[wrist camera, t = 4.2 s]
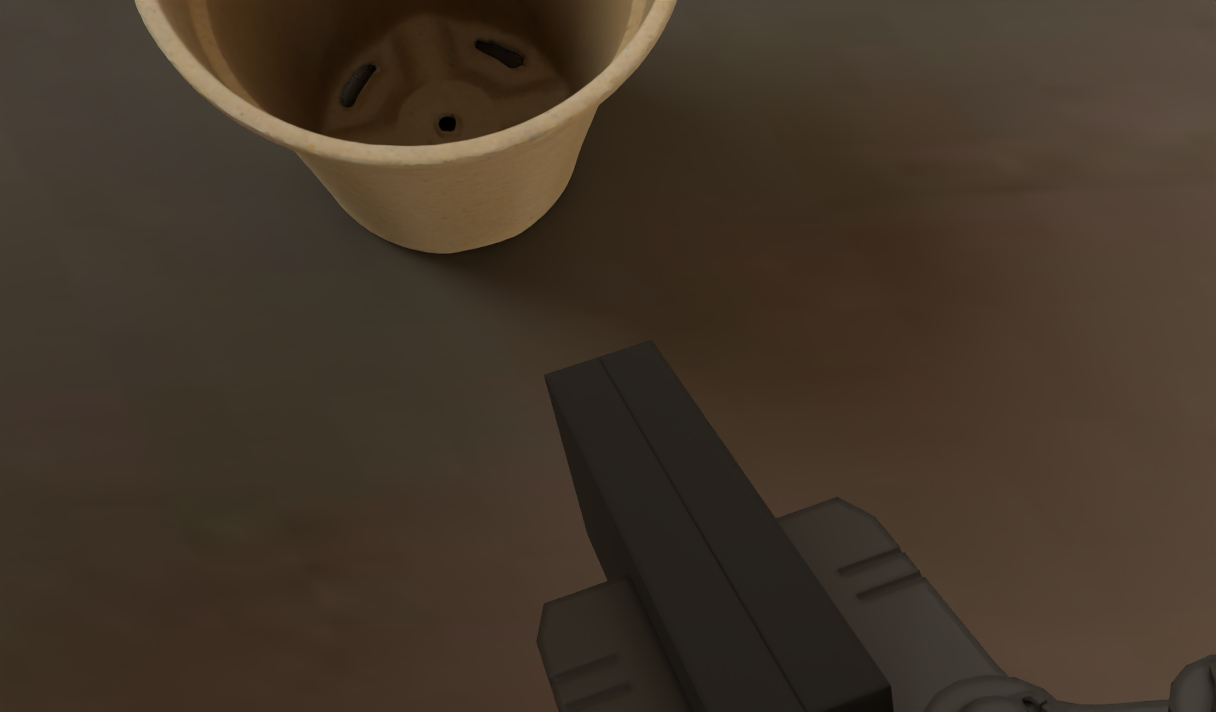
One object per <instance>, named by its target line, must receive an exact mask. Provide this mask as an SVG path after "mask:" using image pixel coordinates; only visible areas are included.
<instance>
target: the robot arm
mask: <svg viewBox="0 0 1216 712" xmlns="http://www.w3.org/2000/svg"><path fill="white" fill-rule="evenodd" d="M544 376H545V380H546V384H547V387H548V391H549V395H550V398H551V402H552V406H553V409H554V413H555V417H556V420H557V424H558V428H559V431H560V435H561V439H562V442H563V446H564V450H565V453H566V457H567V461H568V465H569V468H570V472H571V476H572V479H573V483H574V487H575V490H576V494H577V498H578V501H579V505H580V509H581V512H582V516H583V520H584V523H585V527H586V531H587V534H588V537H589V539H590V541H591V543H592V546H593V548H594V550H595V552H596V555H597V557H598V559H599V562H600V564H601V566H602V568H603V571H604V573H605V575H606V577H607V580H608V581H607V582H604V583H601V584H598V585H596V586H593V587H590V588H587V589H584V590H581V591H579V592H576V593H573V594H570V595H567V596H564V597H562V598H559V599H556V600H553V601H550V602H547V603H545V604H544V606H543V611H542V616H541V621H540V626H539V631H538V636H537V641H536V642H537V645H538V648H539V651H540V654H541V657H542V661H543V664H544V667H545V670H546V673H547V676H548V679H549V682H550V685H551V688H552V692H553V695H554V698H555V701H556V704H557V707H558V710H559V712H1216V654H1215V655H1209V656H1207V657H1205V658H1202V659H1200V660H1198V661H1195V662H1193V663H1191V664H1189V665H1186V666H1185V667H1184V669H1183V670H1182V671H1181V672H1180V673H1179V675H1178V676H1177V677H1176V678H1175V679H1174V681H1173V682H1172V683H1171V690H1170V699H1169V700H1157V701H1144V702H1132V703H1119V704H1107V705H1079V704H1073V703H1068V702H1063V701H1058V700H1056V699H1055V698H1054V697H1053V696H1052V695H1050V694H1049V693H1048V692H1047V691H1045V690H1044V689H1043V688H1041V687H1038V686H1035V685H1033V684H1030V683H1028V682H1025V681H1023V680H1020V679H1018V678H1015V677H1009V676H1008V675H1007V674H1006V673H1005V672H1004V671H1003V670H1002V669H1001V668H1000V667H999V666H998V665H997V664H996V663H995V662H994V661H993V659H992V658H991V657H990V656H989V655H988V653H987V652H986V651H985V650H984V648H983V647H982V646H981V645H980V644H979V642H978V641H977V640H976V639H975V638H974V636H973V635H972V634H971V633H970V631H969V630H968V629H967V628H966V627H965V625H964V624H963V623H962V622H961V621H960V619H959V618H958V617H957V616H956V614H955V613H954V612H953V611H952V610H951V608H950V607H949V606H948V605H947V604H946V602H945V601H944V600H943V599H942V597H941V596H940V595H939V594H938V593H937V591H936V590H935V589H934V588H933V587H932V585H931V584H930V583H929V582H928V580H927V579H926V578H925V577H924V578H922V576H921V574H920V571H919V570H918V568H917V567H916V566H915V565H914V563H913V562H912V561H911V560H910V559H909V557H908V556H907V555H906V554H905V553H902V552H901V550H900V547H899V545H898V544H897V543H896V542H895V540H894V539H893V538H892V537H891V536H890V534H889V533H888V532H887V531H886V530H885V528H884V527H883V526H882V525H881V523H880V522H879V521H878V520H877V519H876V517H874V516H872V515H870V514H868V513H867V512H865V511H863V510H861V509H859V508H857V507H855V506H853V505H851V504H850V503H848V502H846V501H844V500H842V499H840V498H838V497H836V498H833V499H830V500H827V501H825V502H822V503H819V504H816V505H813V506H810V507H808V508H805V509H802V510H799V511H796V512H794V513H791V514H788V515H785V516H782V517H779V518H777V519H775V517H774V516H773V514H772V513H771V511H770V510H769V509H768V507H767V506H766V504H765V503H764V501H763V500H762V498H761V497H760V496H759V494H758V493H757V491H756V490H755V488H754V487H753V485H752V484H751V483H750V481H749V480H748V478H747V477H746V475H745V474H744V472H743V471H742V470H741V468H740V467H739V465H738V464H737V462H736V461H735V459H734V458H733V457H732V455H731V454H730V452H729V451H728V449H727V448H726V446H725V445H724V444H723V442H722V441H721V439H720V438H719V436H718V435H717V433H716V432H715V431H714V429H713V428H712V426H711V425H710V423H709V422H708V420H707V419H706V418H705V416H704V415H703V413H702V412H701V410H700V409H699V407H698V406H697V405H696V403H695V402H694V400H693V399H692V397H691V396H690V394H689V393H688V392H687V390H686V389H685V387H684V386H683V384H682V383H681V381H680V380H679V379H678V377H677V376H676V374H675V373H674V371H673V370H672V369H671V367H670V366H669V364H668V363H667V361H666V360H665V358H664V357H663V356H662V354H661V353H660V351H659V350H658V348H657V347H656V345H655V344H654V343H653V341H652V340H651V341H647V342H644V343H641V344H638V345H635V346H632V347H629V348H626V349H623V350H620V351H617V352H614V353H611V354H607V355H604V356H601V357H598V358H595V359H592V360H589V361H586V362H583V363H580V364H577V365H574V366H570V367H567V368H564V369H561V370H558V371H555V372H552V373H549V374H546V375H544Z"/></svg>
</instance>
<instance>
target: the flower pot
mask: <svg viewBox="0 0 1216 712" xmlns="http://www.w3.org/2000/svg"><path fill="white" fill-rule="evenodd" d="M134 1H135V3H136V6H137V8H138V11H139V13H140V15H141V17H142V19H143V22H144V24H145V25H146V27H147V29H148V30H149V32H150V34H151V35H152V37H153V38H154V40H155V41H156V43H157V45H158V46H159V48H160V49H161V50H162V52H163V53H164V54H165V55H166V57H167V58H168V59H169V61H170V62H171V63H172V64H173V65H174V67H175V68H176V69H177V70H178V71H179V73H180V74H181V75H182V76H183V77H184V79H185V80H186V81H187V82H188V83H189V84H190V85H191V86H192V87H193V88H194V89H195V90H196V91H197V92H198V93H199V94H200V95H202V96H203V97H204V98H205V99H206V100H208V101H209V102H210V103H211V104H212V105H214V106H215V107H216V108H217V109H219V110H220V111H221V112H222V113H224V114H225V115H226V116H228V117H229V118H231V119H232V120H234V121H235V122H237V123H238V124H240V125H242V126H243V127H245V128H247V129H249V130H250V131H252V132H254V133H255V134H257V135H259V136H261V137H263V138H265V139H267V140H269V141H271V142H274V143H276V144H278V145H281V146H283V147H286V148H288V149H291V150H294V152H295V153H296V154H297V155H298V156H299V157H300V158H301V159H302V161H303V162H304V163H305V164H306V165H307V166H308V167H309V169H310V170H311V171H312V172H313V173H314V174H315V175H316V177H317V178H318V179H319V180H320V181H321V182H322V184H323V185H324V186H325V187H326V188H327V189H328V191H329V192H330V193H331V194H332V196H333V197H334V198H335V199H336V201H337V202H338V203H339V204H340V206H341V207H342V208H343V209H344V210H345V211H346V212H347V213H348V214H349V215H350V216H351V217H352V218H353V219H355V220H356V221H357V222H358V223H359V224H360V225H362V226H363V227H365V228H366V229H368V230H369V231H370V232H372V233H374V234H376V235H377V236H379V237H381V238H383V239H385V240H387V241H389V242H392V243H395V244H397V245H400V246H403V247H406V248H410V249H414V250H419V251H424V252H429V253H455V252H460V251H465V250H470V249H475V248H479V247H483V246H487V245H490V244H494V243H498V242H501V241H504V240H506V239H509V238H512V237H514V236H516V235H518V234H520V233H521V232H523V231H524V230H526V229H527V228H529V227H530V226H531V225H533V224H534V223H535V222H536V221H537V220H539V219H540V218H541V217H542V216H543V215H544V214H545V213H546V212H547V211H548V210H549V209H550V208H551V207H552V206H553V204H554V203H555V202H556V201H557V199H558V198H559V197H560V196H561V194H562V192H563V191H564V189H565V188H566V186H567V184H568V182H569V180H570V178H571V175H572V173H573V170H574V167H575V164H576V161H577V157H578V154H579V152H580V149H581V146H582V144H583V141H584V139H585V136H586V134H587V132H588V129H589V127H590V125H591V122H592V120H593V117H594V115H595V113H596V110H597V108H598V106H599V104H601V103H602V102H603V101H604V100H606V99H607V98H608V97H609V96H610V95H612V94H613V93H614V92H615V91H616V90H617V89H618V88H619V87H620V86H621V85H622V84H623V83H624V82H625V81H626V80H627V79H628V78H629V76H630V75H631V74H632V73H633V72H634V71H635V70H636V69H637V68H638V67H639V66H640V64H641V63H642V62H643V60H644V59H645V58H646V56H647V55H648V54H649V52H650V51H651V49H652V48H653V46H654V45H655V44H656V42H657V40H658V39H659V37H660V35H661V34H662V32H663V30H664V28H665V26H666V24H667V22H668V20H669V18H670V16H671V15H672V12H673V9H674V7H675V4H676V1H677V0H134ZM477 41H481V42H484V43H487V44H492V43H494V44H495V45H498V46H500V47H502V48H505V49H508V50H510V51H512V52H514V53H516V54H518V55H519V56H520V57H522V58H523V59H524V61H523V65H521V66H519V67H517V68H509V67H507V66H506V65H504V64H503V63H501V62H500V60H498V59H496V58H494V57H492V56H489V55H487V54H485V53H482V52H481V51H479V50H477V49H476V47H475V45H476V42H477ZM369 65H373V66H375V67H376V71H375V72H374V73H373V74H372V76H371V77H370V78H369V80H368V81H367V83H366V85H365V86H364V88H363V89H362V90H361V92H360V93H359V95H358V97H357V98H356V101H355V104H354V105H353V106H352V107H344V106H343V105H342V104H341V102H342V98H343V92H344V89H345V87H346V85H347V84H348V83H349V82H350V80H351V78H352V76H354V74H355V73H356V72H357V71H359V70H361V69H363V68H364V67H366V66H369ZM445 117H452V118H454V119H455V121H456V126H455V130H453V131H442V130H441V129H440V127H439V121H440V120H441V119H442V118H445Z"/></svg>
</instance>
